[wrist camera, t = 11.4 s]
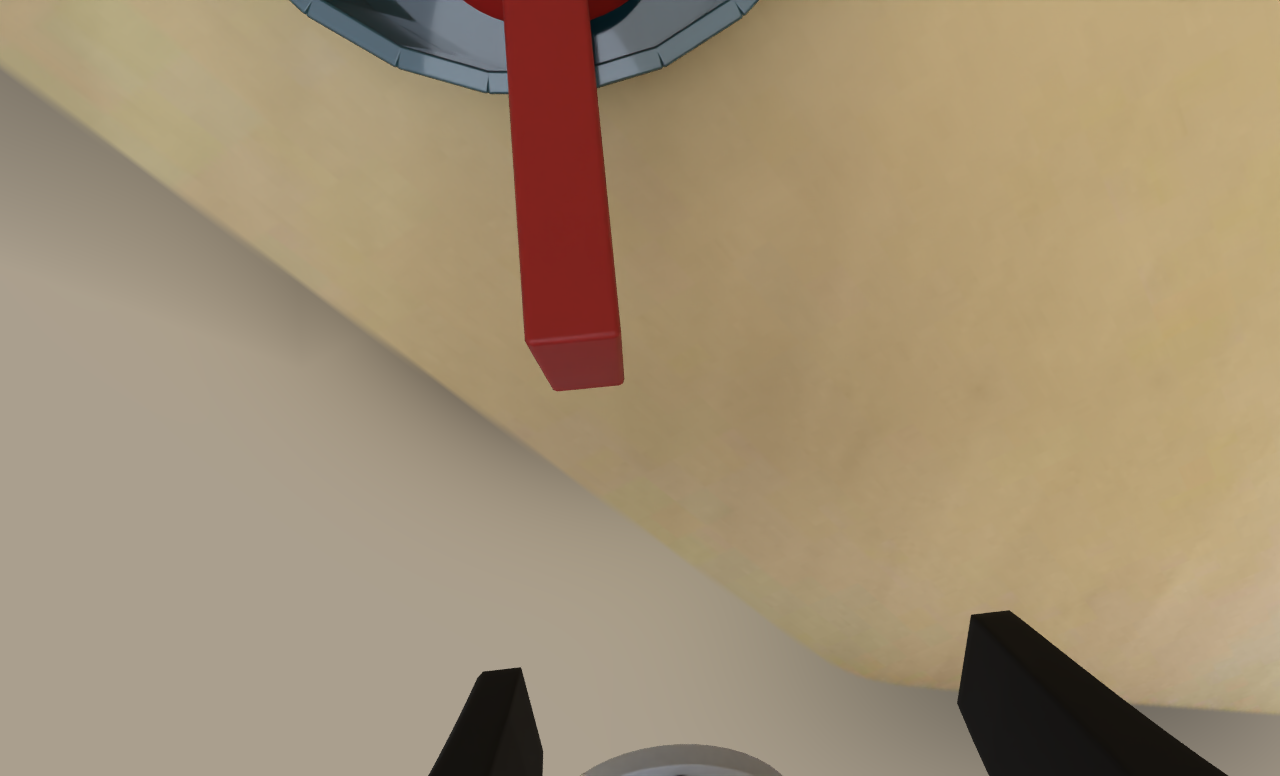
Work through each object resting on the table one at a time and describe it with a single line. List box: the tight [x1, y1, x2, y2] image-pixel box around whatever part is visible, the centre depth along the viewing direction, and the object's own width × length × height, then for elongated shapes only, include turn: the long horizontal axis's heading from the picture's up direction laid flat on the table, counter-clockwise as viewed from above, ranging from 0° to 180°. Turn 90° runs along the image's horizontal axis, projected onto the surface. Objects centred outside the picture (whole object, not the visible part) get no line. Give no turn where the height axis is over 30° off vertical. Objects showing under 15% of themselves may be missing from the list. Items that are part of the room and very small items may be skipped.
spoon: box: [463, 0, 629, 391], centre depth 11 cm, size 12×5×3 cm
